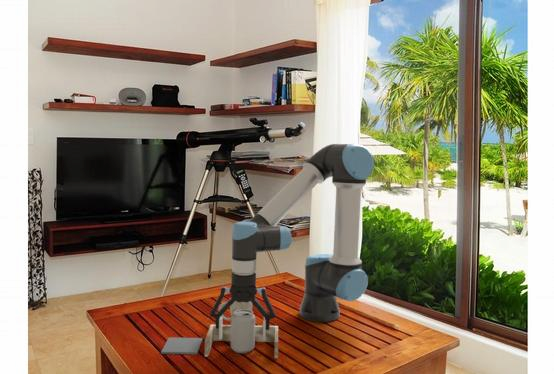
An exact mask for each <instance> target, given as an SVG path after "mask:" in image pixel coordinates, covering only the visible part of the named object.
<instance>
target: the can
mask: <svg viewBox="0 0 554 374" xmlns="http://www.w3.org/2000/svg"><path fill="white" fill-rule="evenodd" d="M230 318H231V321H230V325H231V341H230V349H231V350H233V351H234V353H237V354H238V353H239V354H247V353H250V352H251V351H252V350H253V349H255V347H256V345H255V343H256V342H255V325H256V316H255V314H254V311H253V310H252V311H251V310H248V309H239V310H235V311H234V312H233V315H232V316H231V315H230Z"/></svg>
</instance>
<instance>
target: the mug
mask: <svg viewBox="0 0 554 374" xmlns="http://www.w3.org/2000/svg"><path fill="white" fill-rule="evenodd" d="M227 302H228V301H223V302H221V303H220V305H219V306H218V309H217V310H218V312H219V310H220V309H221V308H222V307H223V306H224V305H225V304H226V303H227ZM253 306H254V304H252V303H251V301H250V302H248V303H245V302H237V301H235V302H234V303H233V304H232V305H231V306H230V307H229V311H230V317H226V316H225V315H224V314H223V315H222V317H223V320H224V321H228V322H231V316H232V315H233V312H234V311H235V310H239V309H248V310H251V311H253Z"/></svg>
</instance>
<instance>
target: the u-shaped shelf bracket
mask: <svg viewBox="0 0 554 374" xmlns="http://www.w3.org/2000/svg"><path fill="white" fill-rule="evenodd" d="M255 341H257V342H259V343H260V342H262V343H267V342H268V343H274V359H279V326H278V325H269V330H266V333H265V341H263V325H256V324H255ZM213 342H231V324H222V339H221V340H219V329H216V324H210V326H209V328H208V331H207V334H206V336H205V339H204V358H205V357H209V355H210V352H211V350H212V349H211V348H212V346H213ZM257 342H256V343H257Z"/></svg>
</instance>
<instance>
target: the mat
mask: <svg viewBox="0 0 554 374" xmlns="http://www.w3.org/2000/svg"><path fill="white" fill-rule="evenodd" d="M203 341H204V340H203V337H170V336H169V337H168V338H167V340H166V342H165V344H164V345H163V347H162V349H161V350H160V354H161V355H198V353H199V350H200V348H201V345H202V343H203Z"/></svg>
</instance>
